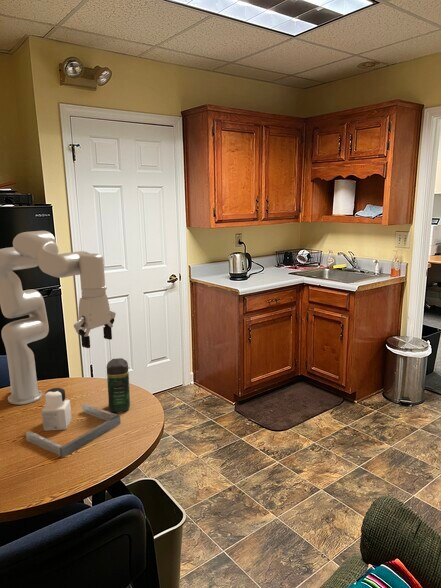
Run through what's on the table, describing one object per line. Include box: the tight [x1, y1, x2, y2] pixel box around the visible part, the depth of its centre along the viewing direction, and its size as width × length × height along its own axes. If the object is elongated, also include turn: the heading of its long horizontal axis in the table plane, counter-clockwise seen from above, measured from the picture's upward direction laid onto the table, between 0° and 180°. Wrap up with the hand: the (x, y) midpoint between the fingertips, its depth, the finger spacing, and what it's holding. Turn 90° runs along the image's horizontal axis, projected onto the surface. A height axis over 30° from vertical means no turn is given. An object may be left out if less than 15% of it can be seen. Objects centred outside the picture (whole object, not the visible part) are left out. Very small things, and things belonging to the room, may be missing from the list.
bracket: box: [25, 403, 122, 458], centre depth 151 cm, size 18×24×3 cm
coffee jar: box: [106, 357, 131, 413], centre depth 167 cm, size 10×8×19 cm
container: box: [41, 387, 72, 431], centre depth 155 cm, size 8×8×13 cm
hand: (97, 343), depth 147 cm, fingers open, 9 cm apart
